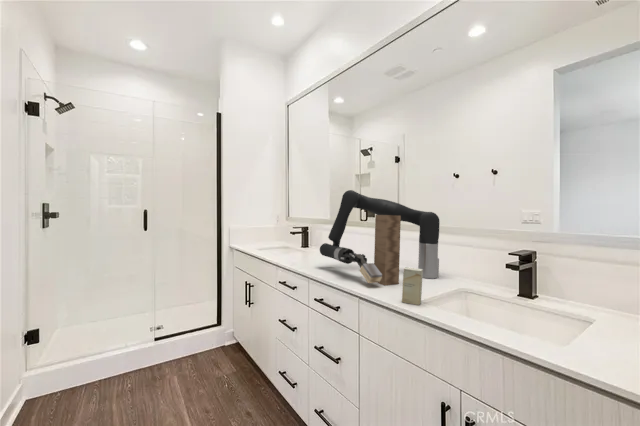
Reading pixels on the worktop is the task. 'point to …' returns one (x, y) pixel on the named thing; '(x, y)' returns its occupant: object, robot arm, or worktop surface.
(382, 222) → the walnut stand
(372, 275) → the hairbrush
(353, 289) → the worktop surface
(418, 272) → the skincare box
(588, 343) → the worktop surface
